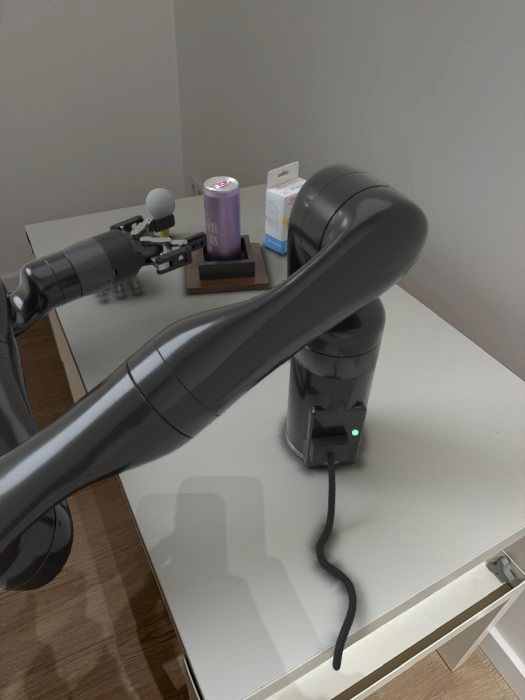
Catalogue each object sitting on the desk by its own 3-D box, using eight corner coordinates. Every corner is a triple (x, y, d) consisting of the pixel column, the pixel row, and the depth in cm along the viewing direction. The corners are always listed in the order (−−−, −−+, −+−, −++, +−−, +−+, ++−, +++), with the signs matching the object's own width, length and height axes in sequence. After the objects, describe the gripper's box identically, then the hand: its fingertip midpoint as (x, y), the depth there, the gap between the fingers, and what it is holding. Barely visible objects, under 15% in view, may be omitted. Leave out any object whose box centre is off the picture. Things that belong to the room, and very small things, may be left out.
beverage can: (248, 263, 93) (247, 183, 83) (224, 276, 89) (220, 194, 80) (225, 251, 96) (221, 172, 86) (201, 263, 92) (194, 183, 83)
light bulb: (176, 244, 100) (171, 195, 93) (148, 244, 100) (141, 195, 93) (180, 231, 104) (175, 183, 97) (153, 230, 104) (146, 183, 97)
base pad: (269, 288, 89) (269, 267, 86) (187, 294, 87) (185, 273, 85) (258, 247, 99) (259, 228, 97) (185, 252, 98) (183, 232, 95)
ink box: (282, 256, 97) (285, 180, 87) (264, 246, 100) (265, 171, 90) (312, 241, 102) (318, 167, 92) (294, 232, 104) (298, 159, 95)
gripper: (80, 266, 81) (166, 233, 89) (128, 306, 73) (218, 266, 81) (68, 222, 76) (161, 191, 84) (119, 260, 68) (215, 222, 76)
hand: (189, 228), depth 83 cm, fingers open, 8 cm apart
